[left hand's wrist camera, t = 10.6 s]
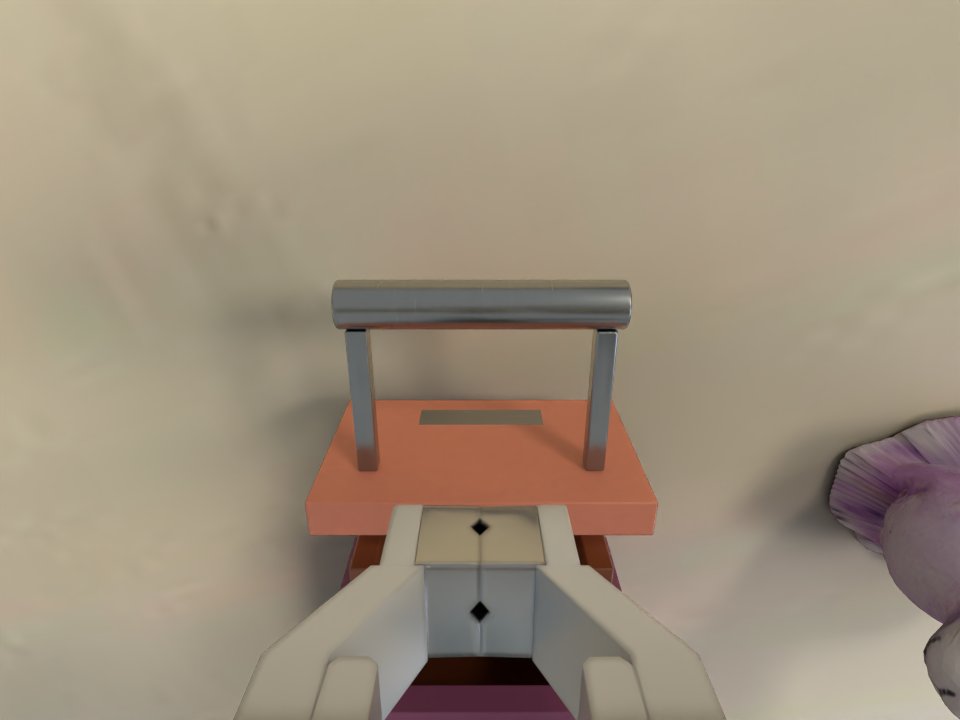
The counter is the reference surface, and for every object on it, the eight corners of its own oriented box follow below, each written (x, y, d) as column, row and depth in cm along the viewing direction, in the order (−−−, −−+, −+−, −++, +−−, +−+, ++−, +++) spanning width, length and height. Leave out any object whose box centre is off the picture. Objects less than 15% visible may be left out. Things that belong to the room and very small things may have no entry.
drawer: (333, 243, 20) (274, 302, 14) (628, 244, 20) (689, 302, 14) (382, 731, 30) (359, 881, 24) (578, 731, 30) (602, 880, 24)
